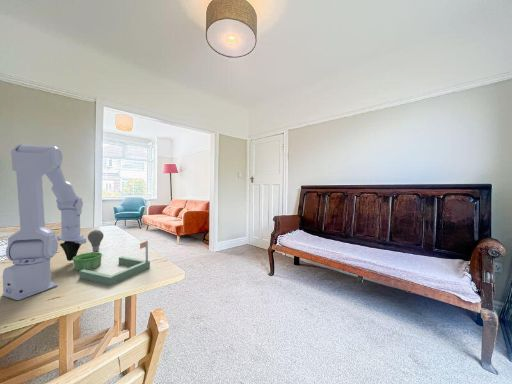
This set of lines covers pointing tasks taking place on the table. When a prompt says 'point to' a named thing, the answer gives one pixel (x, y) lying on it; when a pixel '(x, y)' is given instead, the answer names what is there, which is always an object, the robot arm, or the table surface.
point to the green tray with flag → (107, 279)
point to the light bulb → (95, 239)
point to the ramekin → (87, 261)
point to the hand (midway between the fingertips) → (71, 259)
